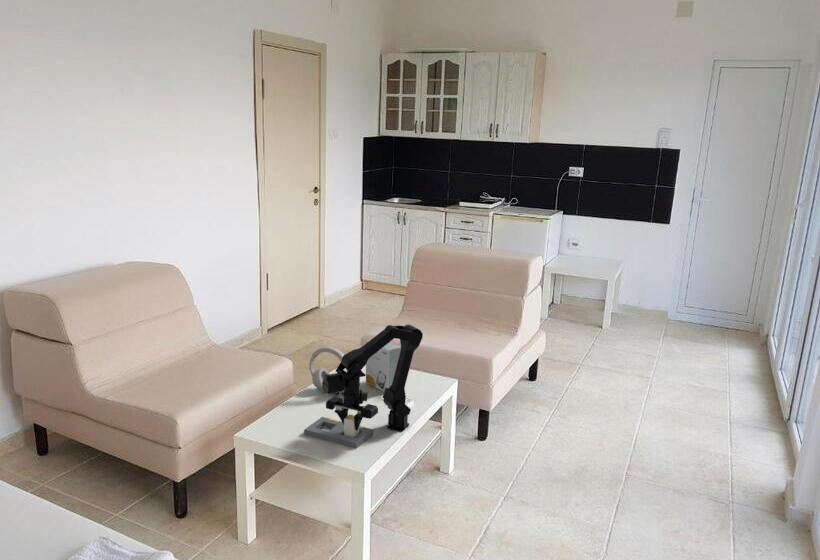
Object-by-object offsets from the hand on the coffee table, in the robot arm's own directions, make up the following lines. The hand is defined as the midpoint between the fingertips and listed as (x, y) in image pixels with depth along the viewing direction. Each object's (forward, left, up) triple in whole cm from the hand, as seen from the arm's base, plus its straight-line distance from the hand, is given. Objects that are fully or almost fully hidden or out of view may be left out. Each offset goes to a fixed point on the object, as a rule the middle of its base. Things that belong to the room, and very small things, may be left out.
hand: (351, 428), depth 233 cm
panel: (+6, 0, -4) cm, 7 cm away
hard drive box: (+12, -47, -4) cm, 49 cm away
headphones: (+29, -31, -4) cm, 43 cm away
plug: (0, 0, -4) cm, 4 cm away
